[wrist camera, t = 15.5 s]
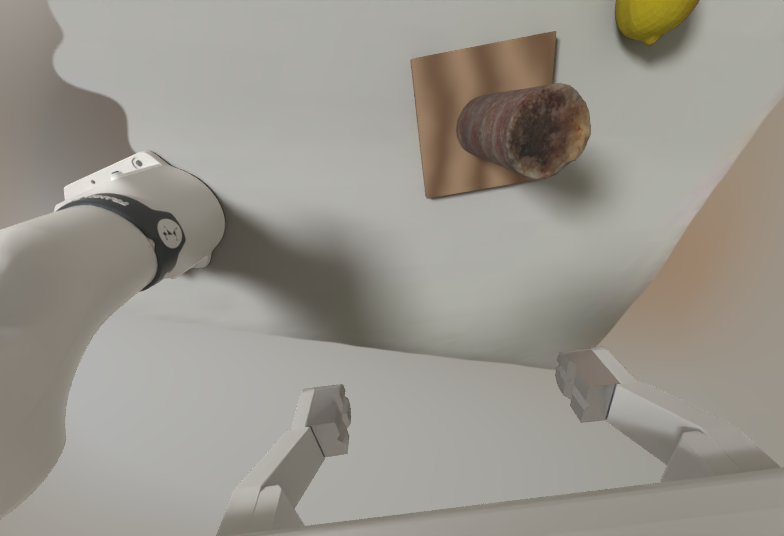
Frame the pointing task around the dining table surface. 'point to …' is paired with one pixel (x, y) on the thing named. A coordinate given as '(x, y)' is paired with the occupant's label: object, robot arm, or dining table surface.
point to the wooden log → (526, 129)
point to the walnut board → (455, 89)
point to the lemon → (650, 17)
